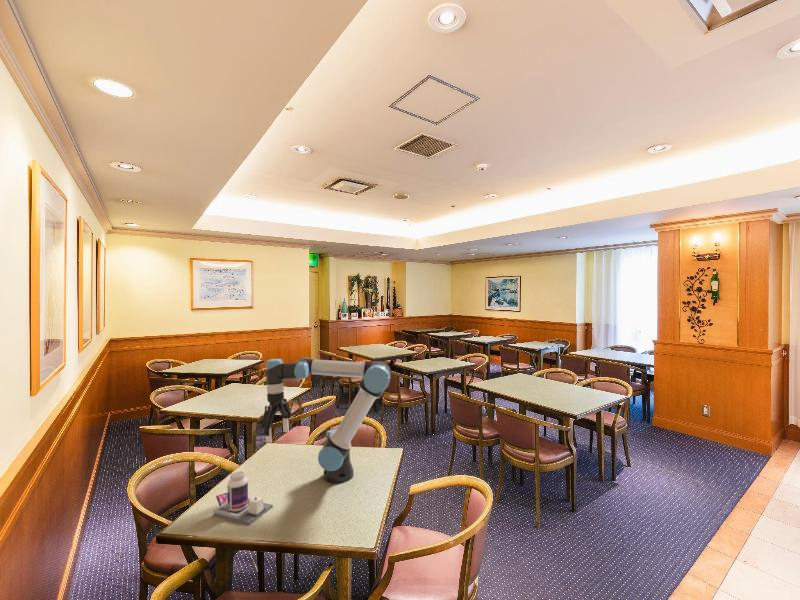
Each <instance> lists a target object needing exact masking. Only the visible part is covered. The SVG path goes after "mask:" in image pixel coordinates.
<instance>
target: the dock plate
mask: <svg viewBox="0 0 800 600" xmlns="http://www.w3.org/2000/svg"><path fill="white" fill-rule="evenodd" d="M273 507H274V505H273V504H270V503H266V502H264V497H261V496H258V495H256V496H254V497H252V498H251V497H248V506H247V507H246V508H245V509H243V510H241V511H237V512H232V511H229V510H228V502H226V503H225V504H223V505H221V506H220V505H219V506H218V507H217V508H216V509H214V510H213V514H212V516H213V517H215V518H218V519H223V520H227V521H230V522H235V523H238V524H239V523H240V524H243V525H247V526H250V525H252V524H253V523H254V522H256V521H257V520H258V519H260V518H261V517H262V516H263V515H264V514H266V513H267V512H268V511H270V510H271V509H273Z"/></svg>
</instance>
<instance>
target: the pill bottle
mask: <svg viewBox="0 0 800 600" xmlns="http://www.w3.org/2000/svg"><path fill="white" fill-rule="evenodd" d="M229 478H230V479H229V480H228V481H227V486H226V489H227V492H226V493H228V510H229V511H232V512H237V511H241V510H243V509H245V508H246V507H247V506H248V498H249V489H248V488H249V487H248V485H249V484H248V481H249V480H248V478H247V477H245V472H244V471H242V470H241V471H234V472H232V473H230V477H229Z"/></svg>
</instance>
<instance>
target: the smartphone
mask: <svg viewBox="0 0 800 600" xmlns="http://www.w3.org/2000/svg"><path fill="white" fill-rule="evenodd" d="M216 500H217V502H218V505H219V507H220V506H221V505H223V504H225V503H226V502H228V493H227V492H225V493H221V494H218V495H216Z"/></svg>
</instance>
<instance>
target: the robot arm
mask: <svg viewBox="0 0 800 600" xmlns="http://www.w3.org/2000/svg"><path fill="white" fill-rule="evenodd" d="M309 375H320V376H331V377H333V376H334V377H346V378H360V379H361V380H360V382H359V384H358V388H359V390H358V392H357V394H356V395H355V398H354V399H353V401H352V403H350V406H349V407H348V409H347V411H346V412H345V415H344V416H343V418H342V420H341V421H340V423H339V425H338V426H337V428H335V429H329V430H328V431H326V436H325V438H326V441H325V443H324V444H323V446H322V448H321V449H320V450H319V451H318V457H317V462H318V465H319V466H320V467H321V469H323V474H322V475H323V476H322V477H323V480H324V481H325V482H329V483H333V484H336V483H337V484H339V483H344V482H347V481H349V480H351V479H352V478H354V474H355V473H354V472H355V471H354V467H353V464H352V462H351V448H352V443H351V442H352V440H353V438H354V436H355V435H356V433H357V432H358V429H359V428H360V427H361V425H362V423H363V421H365V420H364V419H365V417H366V416H367V415H368V413H369V412H370V409H371V407H372V406H373V404H374V402H375V401H376V400H377V399H380V398H381V396H382V395H383V394H384V391H386V389H387V388H388V387H389V386H390V381H391V377H392V370H391V367H390V366H389V364H388V363H386V362H385V361H381V360H380V361H379V360H364V361H363V362H360V361H359V362H358V361H357V362H356V361H345V360H329V359H319V358H318V359H316V358H315V359H314V358H309V357H307V356H306V357H300V358H299V359H298V360H296V361H294V362H283V360H282V359H281V358H271V359H267V360H266V362H265V378H266V392H267V394H266V399H267V402H268V403H269V405H264V411H263V412H264V413H263V416H262V420H261V425H260V428H261V429H264V437H265V443H268V444H269V443H270V444H271V443H273V439H272V438H273V437H272V428H271V426H272V423H273V420H274V417H275V416H276V414H277V413H278V412H279V413H280V414H281V416H282V417H283V418H282V429H283V430H282V432H283V433H289V432H290V426H289V424H290V422H289V421H290V420H289V419H290V418H291V415H292V411H291V410H290V406H289V404H288V402H287V398H285V392H284V389H285V388H284V380H291V379H292V380H297V379H298V380H301V379H306V378H308V376H309Z"/></svg>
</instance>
